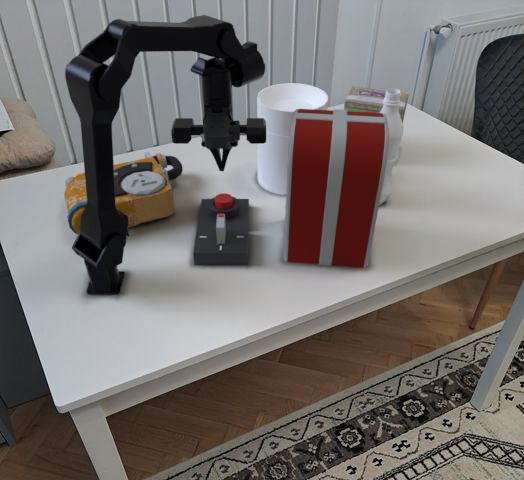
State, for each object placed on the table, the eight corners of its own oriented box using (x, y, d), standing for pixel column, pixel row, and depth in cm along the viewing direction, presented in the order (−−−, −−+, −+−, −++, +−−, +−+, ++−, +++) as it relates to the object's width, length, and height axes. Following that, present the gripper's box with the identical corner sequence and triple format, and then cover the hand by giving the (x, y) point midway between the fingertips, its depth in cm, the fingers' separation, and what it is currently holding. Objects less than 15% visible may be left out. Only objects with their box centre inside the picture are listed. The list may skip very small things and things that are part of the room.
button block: (248, 231, 116) (248, 215, 113) (199, 231, 116) (197, 216, 113) (249, 206, 123) (248, 191, 120) (202, 207, 123) (200, 191, 120)
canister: (331, 188, 129) (341, 105, 114) (271, 200, 125) (273, 116, 110) (304, 158, 139) (309, 79, 124) (248, 169, 135) (246, 88, 120)
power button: (232, 209, 116) (232, 202, 114) (214, 209, 116) (214, 202, 114) (233, 200, 118) (232, 193, 117) (215, 200, 118) (215, 193, 117)
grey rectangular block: (225, 244, 108) (224, 226, 105) (217, 244, 108) (216, 226, 105) (225, 230, 111) (224, 212, 108) (218, 230, 111) (217, 212, 108)
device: (47, 163, 120) (172, 138, 129) (58, 195, 126) (176, 170, 135) (65, 212, 106) (203, 181, 115) (76, 246, 112) (206, 214, 121)
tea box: (337, 156, 140) (343, 100, 129) (344, 140, 146) (351, 84, 136) (393, 165, 137) (405, 107, 126) (398, 147, 144) (409, 91, 133)
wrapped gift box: (288, 218, 120) (294, 96, 100) (366, 223, 119) (387, 100, 99) (282, 262, 109) (287, 135, 89) (368, 268, 107) (392, 140, 88)
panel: (247, 265, 108) (247, 252, 106) (194, 265, 108) (193, 252, 106) (248, 234, 116) (248, 221, 113) (198, 234, 116) (197, 221, 113)
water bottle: (354, 203, 124) (370, 94, 106) (365, 189, 129) (382, 82, 110) (383, 211, 122) (405, 100, 104) (393, 196, 126) (415, 88, 108)
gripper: (163, 111, 94) (173, 190, 105) (266, 111, 94) (266, 190, 106) (170, 87, 102) (179, 163, 113) (266, 87, 102) (265, 163, 113)
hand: (221, 170), depth 111 cm, fingers closed
